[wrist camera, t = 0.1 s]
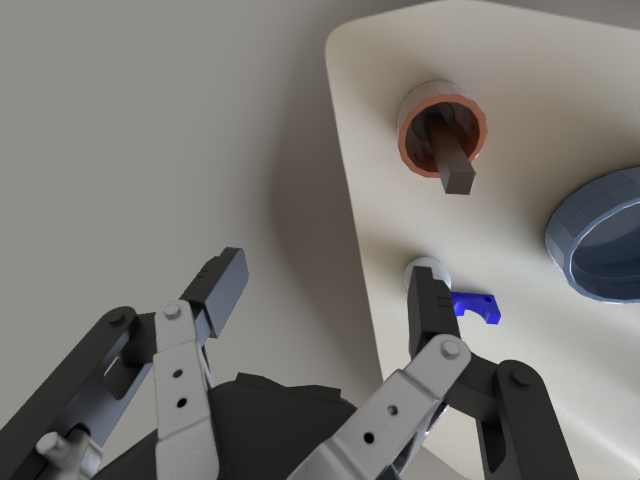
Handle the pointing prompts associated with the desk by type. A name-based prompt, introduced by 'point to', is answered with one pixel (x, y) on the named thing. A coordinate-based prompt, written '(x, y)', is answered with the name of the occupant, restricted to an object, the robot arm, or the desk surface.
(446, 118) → the disc-ended square rod
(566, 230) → the bowl
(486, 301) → the cable holder
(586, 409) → the desk surface
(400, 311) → the desk surface
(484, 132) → the crock
